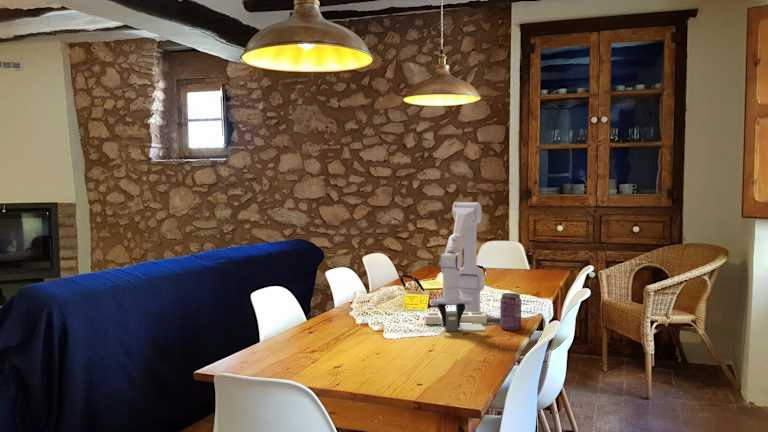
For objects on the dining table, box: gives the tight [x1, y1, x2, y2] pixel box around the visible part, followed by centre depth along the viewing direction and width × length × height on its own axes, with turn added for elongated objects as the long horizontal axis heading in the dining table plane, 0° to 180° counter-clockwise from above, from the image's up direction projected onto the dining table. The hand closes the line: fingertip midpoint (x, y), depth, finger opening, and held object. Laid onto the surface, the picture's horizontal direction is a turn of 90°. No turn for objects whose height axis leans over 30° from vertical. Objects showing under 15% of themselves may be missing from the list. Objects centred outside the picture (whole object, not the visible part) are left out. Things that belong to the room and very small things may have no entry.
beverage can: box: [499, 292, 522, 331], centre depth 212 cm, size 7×7×12 cm
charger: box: [443, 310, 459, 332], centre depth 212 cm, size 8×4×6 cm, turn 2°
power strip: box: [423, 311, 500, 325], centre depth 220 cm, size 8×28×4 cm, turn 93°
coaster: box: [458, 324, 486, 333], centre depth 213 cm, size 8×8×1 cm
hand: (451, 325), depth 211 cm, fingers closed on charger, 4 cm apart
